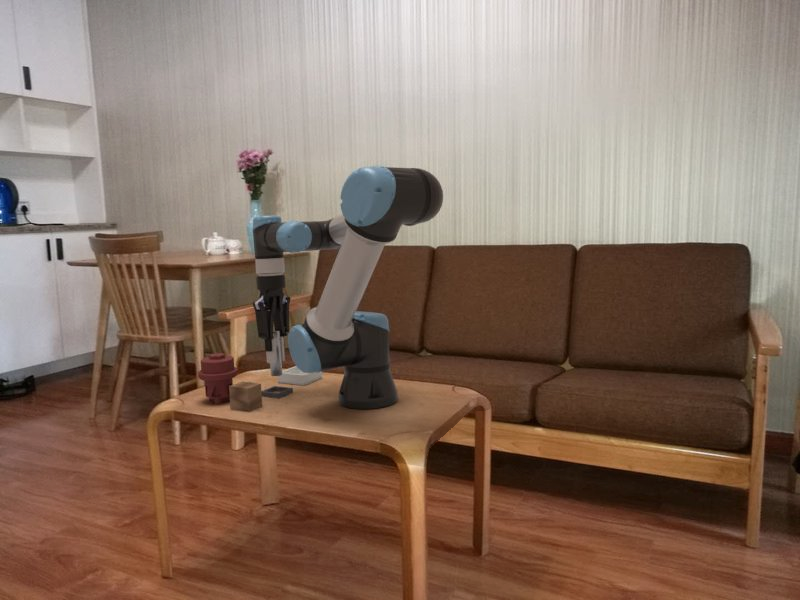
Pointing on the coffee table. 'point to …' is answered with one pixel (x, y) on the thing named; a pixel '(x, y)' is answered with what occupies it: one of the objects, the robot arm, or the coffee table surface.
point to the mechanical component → (218, 376)
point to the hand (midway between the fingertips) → (275, 361)
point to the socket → (282, 392)
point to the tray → (298, 377)
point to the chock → (245, 396)
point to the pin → (277, 356)
